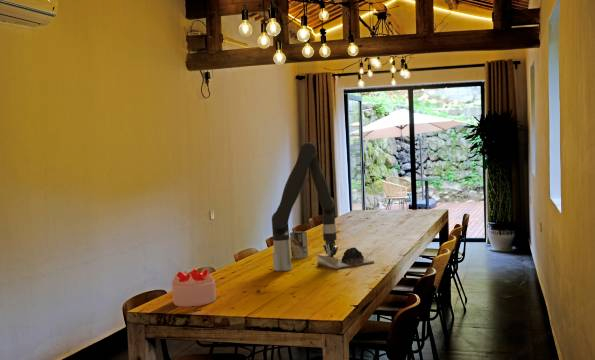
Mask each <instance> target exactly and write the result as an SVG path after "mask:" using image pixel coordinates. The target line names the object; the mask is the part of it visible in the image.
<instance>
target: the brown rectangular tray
mask: <svg viewBox="0 0 595 360" xmlns="http://www.w3.org/2000/svg"><path fill="white" fill-rule="evenodd" d="M316 256H317V263H316V266H320V267H324V268H327V269H331V270H334V271H335V270H341V269H347V268H353V267H354V268H355V267H359V266H363V265H369V264H370V265H371V264H375V261H374V260H370V259H366V258H364V261H363V262H360V263H344V262H342V258H338V257H334V256H333V257H330V256H328V255H327V254H326V255H325V254H323V253H322V254H321V253H318V254H316Z"/></svg>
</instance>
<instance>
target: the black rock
mask: <svg viewBox="0 0 595 360" xmlns="http://www.w3.org/2000/svg"><path fill="white" fill-rule="evenodd" d="M341 259H342V262H344V263H360V262H363V261H364V259H365V257H364V255H363V253H362V252H361V251H360V250H358V249H357V247H350V248H347V249H346V250H345V251H344V252H343V255H342V257H341Z"/></svg>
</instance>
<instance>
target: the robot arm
mask: <svg viewBox="0 0 595 360" xmlns="http://www.w3.org/2000/svg"><path fill="white" fill-rule="evenodd" d="M316 147H317V146H316V145H315V144H314V143H312V142H311V141H310V142H309V141H308V142H304V143H302V145H300V148H299V153H298V156H297V159H296V162H295V164H294V166H293V167H292V170H291V172H290V174H289V175H288V178H287V180H286V183H285V185H284V187H283V192H282V194H281V195H282V196H281V199H280V203H279V205H278V207H277V209H276V211H275V212H274V213H273V214H272V215H271V226H272V227H271V228H272V230H271V231H272V240H273V241H272V242H273V243H272V244H273V253H272V259H273V260H272V261H273V270H274V271H275V272H285V271H287V272H288V271H290V270H292V254H291V242H290V229H289V221H290V216H291V212H292V211H293V207H294V205H295V204H296V201H297V199H298V197H299V195H300V193H301V191H302V188H303V186H304V183H305V181H306V180H305V179H306V176H307V173H308V170H309V172H310V175H311V179H312V183H313V185H314V188H315V190H316V192H317V196H318V201H319V204H320V206H321V208H322V218H321V219H322V240H323V241H324V243H325V244H323V245H322V246H323V249H324V251H325V254H326V255H327V256H330V257H334V256H335V255H336V254H337V251H338V246H336V240H337V239H338V238H337V237H338V236H337V226H336V217H335V209H336V208H335V205H336V204H335V199H334V198H333V197H331V194H330V189H329V185H328V183H327V180H326V178H325V174H324V173H323V170H322V169H321V166H320V163H319V158H318V154H317V148H316Z"/></svg>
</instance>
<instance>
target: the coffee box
mask: <svg viewBox="0 0 595 360" xmlns="http://www.w3.org/2000/svg"><path fill="white" fill-rule="evenodd" d="M307 236H308V235H307V231H292V232H289V240H290V254H291V259H306V258H308V257H309V250H308V247H309V246H308V237H307Z"/></svg>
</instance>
